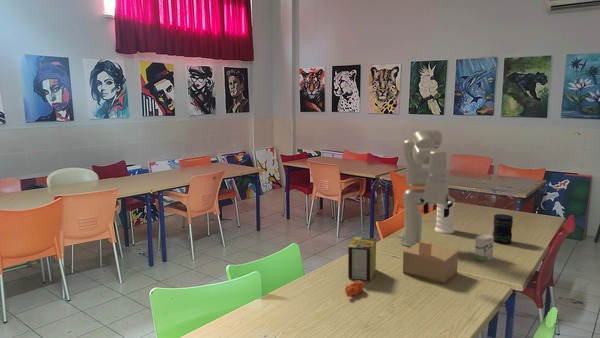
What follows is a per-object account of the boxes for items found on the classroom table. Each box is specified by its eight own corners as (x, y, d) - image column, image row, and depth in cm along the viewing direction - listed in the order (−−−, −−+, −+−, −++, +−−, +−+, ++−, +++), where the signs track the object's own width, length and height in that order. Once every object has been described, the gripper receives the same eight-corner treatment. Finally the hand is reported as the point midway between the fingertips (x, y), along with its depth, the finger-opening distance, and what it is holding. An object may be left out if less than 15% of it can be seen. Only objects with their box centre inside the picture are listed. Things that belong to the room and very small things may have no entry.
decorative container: (456, 229, 277) (457, 201, 274) (451, 234, 267) (452, 205, 264) (437, 227, 283) (438, 199, 280) (432, 231, 273) (433, 203, 270)
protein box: (375, 269, 214) (376, 238, 212) (370, 281, 200) (370, 248, 198) (354, 266, 218) (354, 236, 215) (347, 278, 203) (347, 246, 201)
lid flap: (403, 253, 207) (403, 239, 206) (417, 244, 220) (418, 231, 218) (445, 262, 195) (445, 247, 194) (458, 252, 207) (458, 238, 206)
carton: (402, 273, 209) (403, 253, 207) (417, 263, 221) (417, 244, 220) (444, 284, 196) (445, 262, 195) (457, 272, 209) (458, 252, 207)
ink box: (482, 261, 222) (484, 239, 221) (474, 258, 227) (475, 236, 225) (493, 258, 227) (494, 236, 225) (484, 255, 231) (485, 233, 229)
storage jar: (492, 243, 250) (494, 217, 248) (492, 238, 259) (493, 213, 257) (512, 245, 247) (513, 219, 244) (510, 240, 256) (512, 215, 253)
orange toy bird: (351, 287, 181) (365, 277, 190) (336, 288, 186) (351, 279, 195) (354, 299, 181) (369, 289, 190) (339, 300, 185) (354, 290, 195)
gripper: (415, 177, 202) (414, 213, 205) (452, 181, 190) (450, 220, 193) (423, 175, 207) (422, 210, 210) (459, 179, 196) (457, 216, 198)
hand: (435, 215), depth 201 cm, fingers open, 9 cm apart
